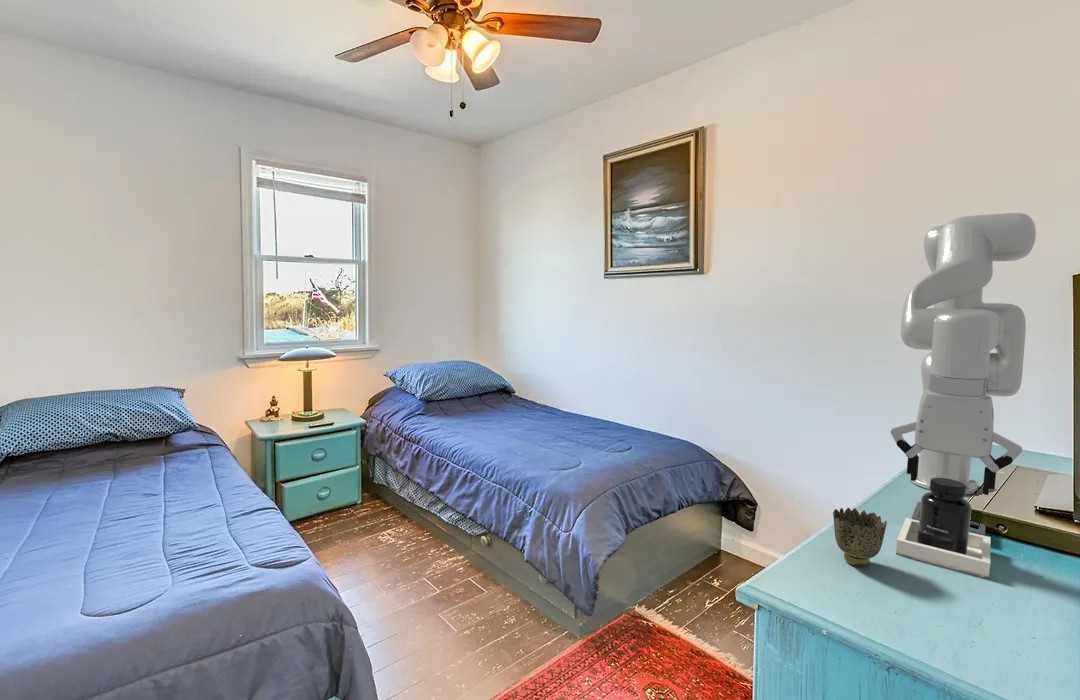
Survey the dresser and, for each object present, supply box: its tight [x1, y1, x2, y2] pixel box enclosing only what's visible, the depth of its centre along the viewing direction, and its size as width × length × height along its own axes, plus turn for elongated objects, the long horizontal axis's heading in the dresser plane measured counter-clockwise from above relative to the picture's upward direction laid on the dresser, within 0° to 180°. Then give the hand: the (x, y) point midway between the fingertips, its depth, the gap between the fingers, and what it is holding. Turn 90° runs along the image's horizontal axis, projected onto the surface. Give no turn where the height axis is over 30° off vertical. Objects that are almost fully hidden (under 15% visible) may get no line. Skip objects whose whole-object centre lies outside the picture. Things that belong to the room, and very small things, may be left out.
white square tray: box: [895, 517, 992, 580], centre depth 89 cm, size 12×12×2 cm
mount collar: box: [911, 501, 986, 536], centre depth 99 cm, size 11×11×2 cm
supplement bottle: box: [917, 478, 973, 555], centre depth 89 cm, size 7×7×12 cm
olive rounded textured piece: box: [832, 507, 888, 568], centre depth 85 cm, size 8×7×8 cm
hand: (948, 485), depth 88 cm, fingers open, 9 cm apart
